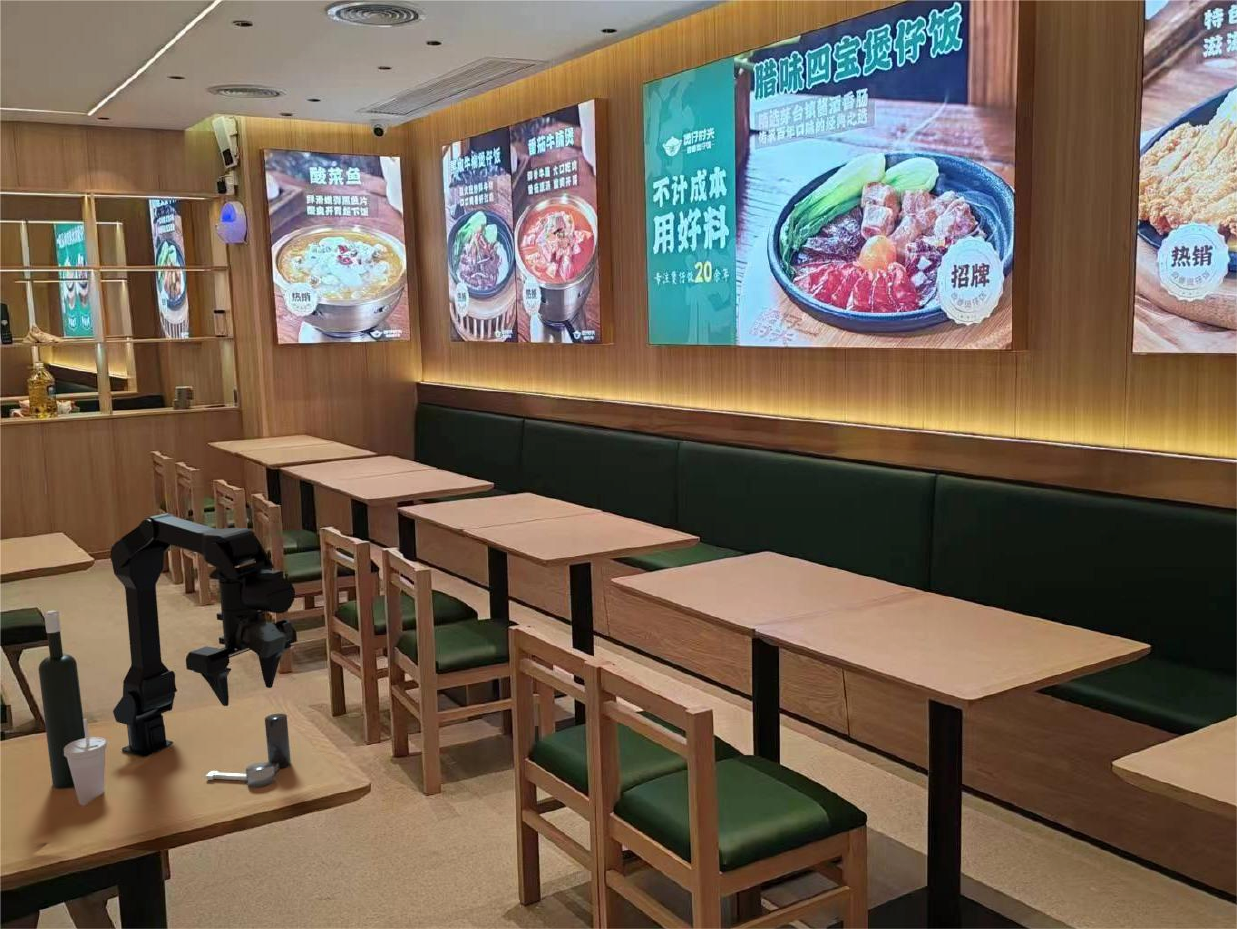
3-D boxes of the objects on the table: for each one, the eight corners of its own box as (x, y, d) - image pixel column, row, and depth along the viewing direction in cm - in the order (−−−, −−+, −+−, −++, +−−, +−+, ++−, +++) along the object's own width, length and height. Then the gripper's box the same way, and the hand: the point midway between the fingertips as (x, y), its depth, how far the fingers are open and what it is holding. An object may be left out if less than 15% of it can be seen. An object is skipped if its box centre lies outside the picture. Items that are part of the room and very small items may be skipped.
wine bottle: (90, 783, 188) (70, 613, 183) (52, 791, 186) (31, 618, 181) (89, 771, 193) (70, 604, 188) (52, 778, 191) (32, 610, 186)
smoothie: (96, 810, 178) (86, 728, 176) (61, 808, 179) (50, 726, 177) (121, 792, 184) (112, 712, 182) (87, 790, 185) (77, 711, 183)
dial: (266, 788, 181) (262, 738, 180) (202, 784, 183) (197, 735, 182) (296, 760, 191) (292, 714, 190) (235, 757, 193) (230, 711, 192)
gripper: (226, 627, 171) (235, 724, 173) (316, 597, 187) (323, 685, 189) (179, 619, 177) (188, 712, 179) (270, 590, 192) (277, 676, 195)
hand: (247, 696), depth 185 cm, fingers open, 9 cm apart
